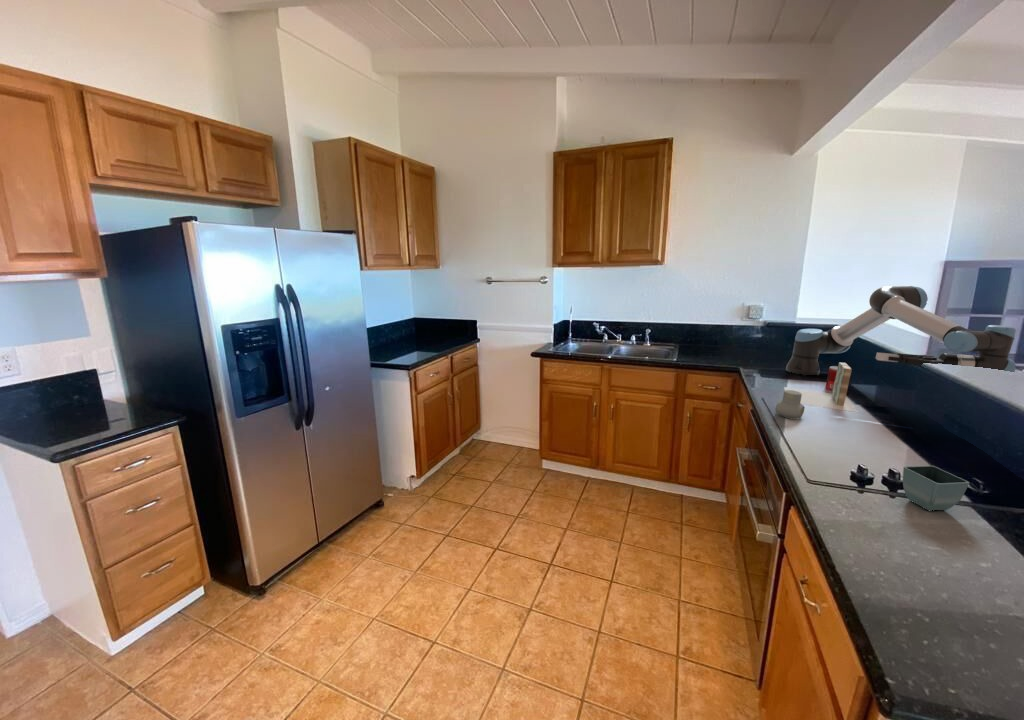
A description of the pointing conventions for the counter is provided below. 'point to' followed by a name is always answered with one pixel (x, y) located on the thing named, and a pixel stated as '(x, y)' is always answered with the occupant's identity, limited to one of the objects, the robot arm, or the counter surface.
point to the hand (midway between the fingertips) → (877, 356)
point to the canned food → (831, 377)
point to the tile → (841, 383)
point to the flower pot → (933, 487)
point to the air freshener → (790, 405)
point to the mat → (822, 400)
